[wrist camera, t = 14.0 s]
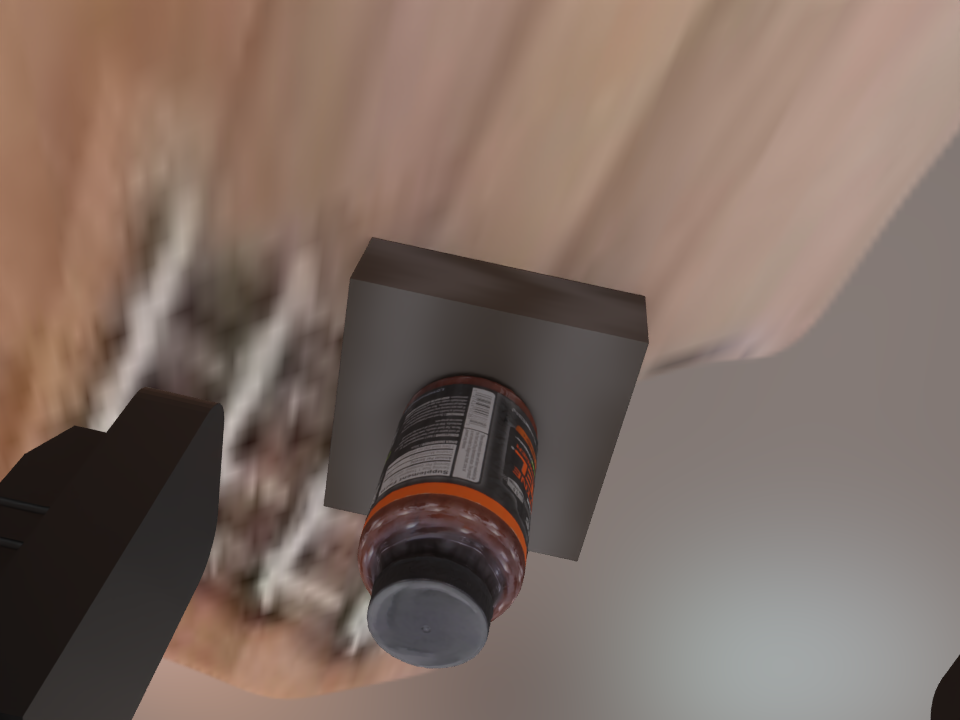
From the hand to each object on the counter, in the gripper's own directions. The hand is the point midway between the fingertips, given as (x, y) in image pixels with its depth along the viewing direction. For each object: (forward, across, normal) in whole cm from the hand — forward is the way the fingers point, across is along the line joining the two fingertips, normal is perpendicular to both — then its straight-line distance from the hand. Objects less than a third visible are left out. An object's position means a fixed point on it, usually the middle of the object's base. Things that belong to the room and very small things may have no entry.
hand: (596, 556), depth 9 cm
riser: (+28, 0, +17) cm, 33 cm away
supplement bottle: (+25, 0, +17) cm, 30 cm away
